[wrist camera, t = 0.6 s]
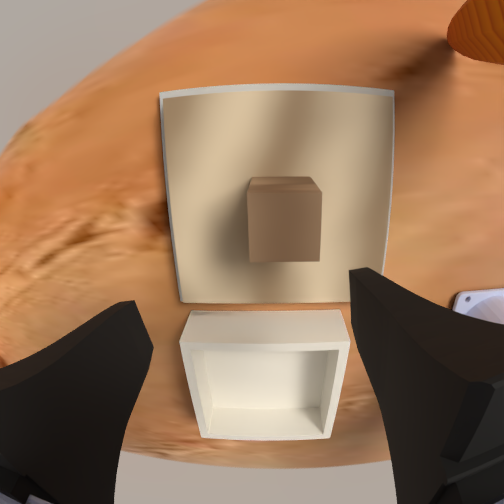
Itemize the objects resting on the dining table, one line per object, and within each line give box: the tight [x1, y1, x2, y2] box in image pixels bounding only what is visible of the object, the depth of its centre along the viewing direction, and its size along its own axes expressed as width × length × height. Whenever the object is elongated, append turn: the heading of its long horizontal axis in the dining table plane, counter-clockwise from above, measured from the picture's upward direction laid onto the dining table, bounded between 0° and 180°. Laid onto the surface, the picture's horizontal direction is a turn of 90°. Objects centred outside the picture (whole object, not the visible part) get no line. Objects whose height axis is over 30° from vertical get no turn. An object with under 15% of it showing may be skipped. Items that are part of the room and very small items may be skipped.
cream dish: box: [179, 309, 350, 440], centre depth 22 cm, size 10×10×4 cm
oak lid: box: [163, 90, 393, 303], centre depth 16 cm, size 12×12×5 cm
